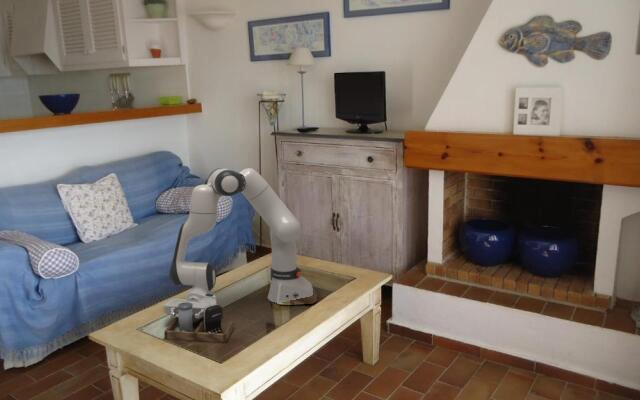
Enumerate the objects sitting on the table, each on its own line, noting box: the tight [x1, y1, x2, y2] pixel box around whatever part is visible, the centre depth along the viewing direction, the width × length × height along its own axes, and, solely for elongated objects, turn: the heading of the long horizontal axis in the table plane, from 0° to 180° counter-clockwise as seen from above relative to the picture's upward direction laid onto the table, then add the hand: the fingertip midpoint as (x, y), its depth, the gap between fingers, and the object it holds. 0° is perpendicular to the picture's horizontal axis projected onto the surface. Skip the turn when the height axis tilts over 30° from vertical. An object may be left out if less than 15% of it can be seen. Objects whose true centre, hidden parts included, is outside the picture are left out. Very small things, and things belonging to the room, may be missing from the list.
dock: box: [163, 316, 235, 343], centre depth 206 cm, size 23×13×3 cm, turn 86°
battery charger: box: [203, 303, 224, 334], centre depth 204 cm, size 7×4×11 cm, turn 134°
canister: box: [178, 302, 194, 332], centre depth 206 cm, size 5×5×11 cm
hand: (184, 316), depth 204 cm, fingers open, 8 cm apart
